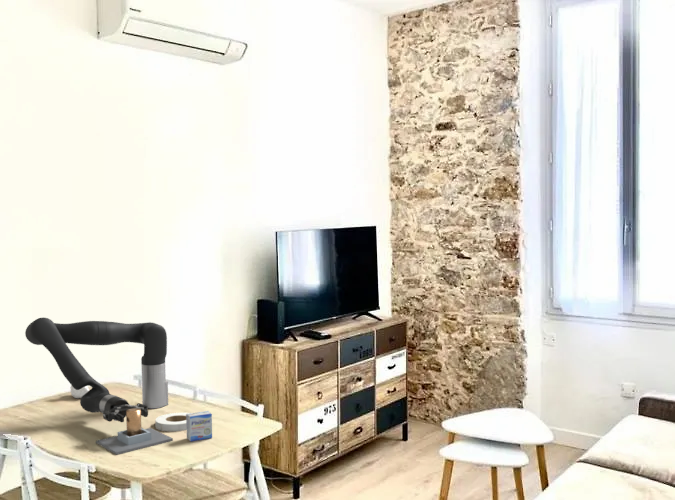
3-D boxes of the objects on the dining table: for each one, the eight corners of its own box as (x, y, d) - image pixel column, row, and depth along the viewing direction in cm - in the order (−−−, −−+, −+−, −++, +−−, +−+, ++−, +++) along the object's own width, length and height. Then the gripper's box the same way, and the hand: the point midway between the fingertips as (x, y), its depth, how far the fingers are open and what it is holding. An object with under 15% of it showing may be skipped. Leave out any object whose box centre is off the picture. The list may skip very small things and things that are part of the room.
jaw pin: (137, 436, 240) (137, 407, 240) (144, 439, 237) (143, 410, 236) (124, 439, 237) (123, 410, 236) (130, 442, 233) (129, 413, 233)
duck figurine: (72, 400, 299) (55, 382, 293) (85, 386, 303) (69, 369, 297) (86, 405, 291) (69, 387, 285) (99, 391, 295) (83, 373, 289)
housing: (150, 430, 249) (150, 420, 249) (172, 440, 238) (172, 431, 237) (96, 442, 236) (95, 433, 236) (116, 454, 224) (116, 444, 224)
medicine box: (189, 442, 236) (189, 416, 236) (186, 438, 240) (185, 413, 240) (212, 438, 240) (212, 413, 239) (208, 434, 244) (208, 410, 243)
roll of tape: (170, 417, 265) (170, 410, 265) (206, 421, 260) (206, 414, 260) (146, 430, 251) (146, 422, 251) (183, 434, 246) (183, 426, 245)
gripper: (94, 400, 243) (114, 409, 231) (132, 392, 253) (154, 401, 241) (94, 421, 243) (115, 432, 231) (133, 413, 253) (154, 423, 241)
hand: (135, 416), depth 236 cm, fingers open, 8 cm apart
